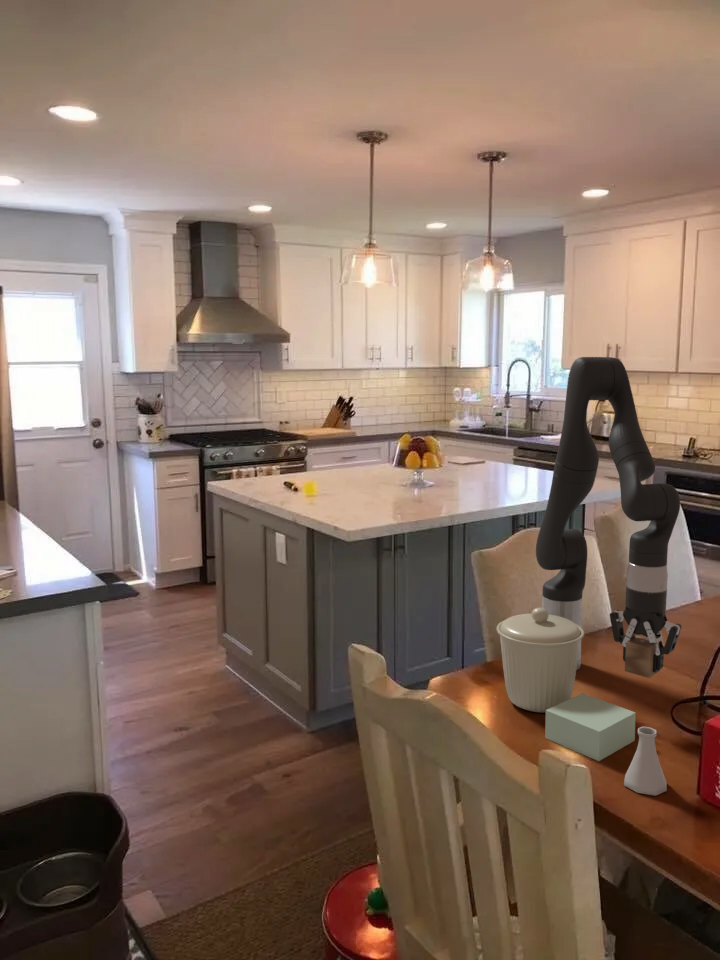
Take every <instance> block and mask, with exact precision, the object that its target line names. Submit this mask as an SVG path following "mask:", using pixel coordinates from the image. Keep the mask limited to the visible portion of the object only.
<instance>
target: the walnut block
mask: <svg viewBox="0 0 720 960" xmlns="http://www.w3.org/2000/svg"><path fill="white" fill-rule="evenodd" d="M653 649H654V647H652V644H650V642H649V638H648V637H645V636H642V635H641V636H640V635H636V637H635V638H632V639H631V640H630V641H627V642H626V653H625V661H624V672H626V673H630V674H633V675H636V676H640V677H645V678H648V679H651V677H653V676H655V674H657V673H655V672H653V655H654V651H653Z"/></svg>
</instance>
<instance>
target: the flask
mask: <svg viewBox="0 0 720 960" xmlns="http://www.w3.org/2000/svg"><path fill="white" fill-rule="evenodd" d="M657 733H658V730H657V729H655V728H652V727H650V726H640V727H638V728H637V735H638V744H637V747H636V751H635V753H634V755H633V756H632V757H633V758H632V760H631V762H630V765H629V766H628V769H627V771H626V773H625V775H624V779H623V780H624V781H623V786H624V787H626V788H628V789H629V790H632V791H634V792H635V793H637V794H643V795H648V796H655V797H656V796H658V795H661V794H663V793H664V792H667V790H668V789H667V788H668V787H667V785H668V784H667V779H666V777H665V774H664V771H663V769H662V768H663V767H662V766H661V763H660V762H661V761H660V759H659V757H658V752H657V748H656V743H655V742H656V737H657V735H658V734H657Z"/></svg>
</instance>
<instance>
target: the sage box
mask: <svg viewBox="0 0 720 960" xmlns="http://www.w3.org/2000/svg"><path fill="white" fill-rule="evenodd" d="M636 714H637V713H636V712H635V711H632V710H630V709H627V708H624V707H621V706H618V705H616V704H614V703H610V702H607V701H605V700H602V699H599V698H597V697H594V696H591V695H588V694H585V693H583V692H581V693H580V694H577V695H576V696H574V697H573V696H572V697H571V699H569V700H567V701H565V702H562V703H560V704H558V705H556V706H554V707H552V708H550V709H547V710H546V712H545V718H544V719H545V720H544V721H545V722H544V723H545V725H544V726H545V729H544V732H545V733H544V734H545V735H544V738H545V739H547V740H549V741H551V742H553V743H556V744H558V745H560V746H563V747H565V748H567V749H569V750H572V751H575V752H576V753H579V754H581V755H583V756H585V757H588V758H590V759H593V760H594V761H598V762H600V761H602V760H603V759H605V758H607V757H608V756H610V755H612V754H614V753H615V752H617V751H619V750H621V749H623V748H624V747H626V746H628V745H630V744H631V743H633V742H635V739H636Z"/></svg>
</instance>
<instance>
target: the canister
mask: <svg viewBox="0 0 720 960" xmlns="http://www.w3.org/2000/svg"><path fill="white" fill-rule="evenodd" d="M496 632H497V634H498V635H499V638H500V641H499V642H500V647H501V648H500V649H501V659H502V669H503V676H504V684H505V690H506V695H507V697H508V699H509V700H510V701H511V703H512V704H513V705H515V706H516V707H517V708H519V709H523V710H526V711H529V712H534V713H544V714H545V713H546V710H547V709H550V708H552V707H554V706H556V705H558V704H560V703H562V702H565V701H567V700H569V699H571V698H573V692H574V687H575V681H576V675H577V670H576V669H577V661H578V654H579V647H580V640H581V641H582V639H583V638H584V636H585V631H584V629H583V628H581V627H580V626H578V625H577V624H575V623H574V622H572V621H570V620H568V619H566V618H563V617H559V616H555V615H549V613H548V611H547V610H546V609H544V608H542V607H535V608H534V609H532V611H531V613H522V614H515V615H513V616H509V617H508V618H506V619H504V620H502V621H500V622H499V623H497V626H496Z"/></svg>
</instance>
